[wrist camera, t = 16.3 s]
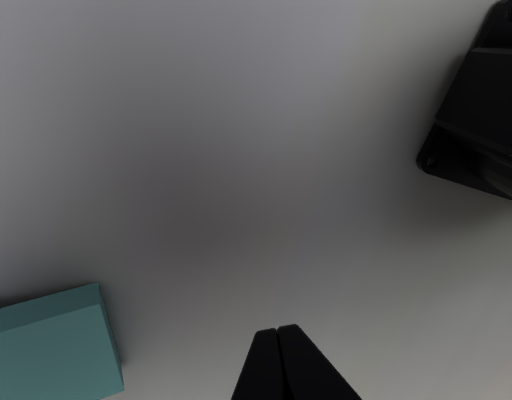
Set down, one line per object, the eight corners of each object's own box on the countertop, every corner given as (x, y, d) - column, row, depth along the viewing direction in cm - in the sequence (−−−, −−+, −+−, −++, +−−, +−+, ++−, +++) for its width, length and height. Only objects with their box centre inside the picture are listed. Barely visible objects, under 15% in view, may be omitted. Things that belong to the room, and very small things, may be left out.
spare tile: (120, 364, 18) (-78, 433, 16) (97, 282, 16) (-136, 344, 13) (124, 390, 17) (-93, 471, 14) (99, 303, 15) (-160, 378, 12)
